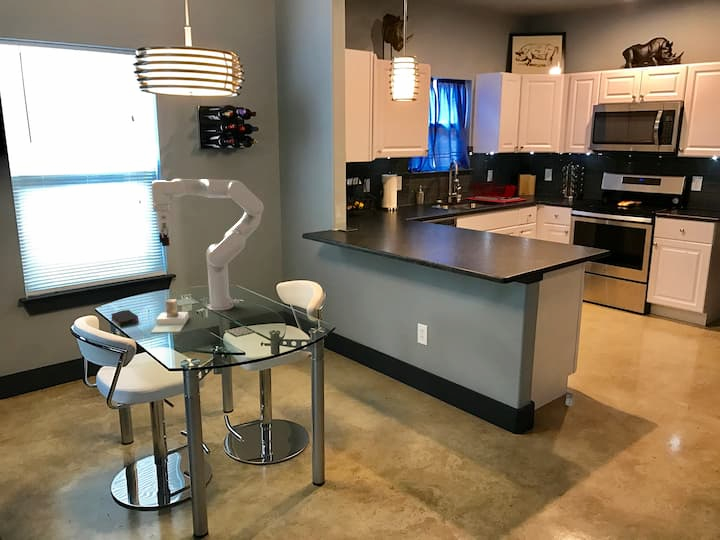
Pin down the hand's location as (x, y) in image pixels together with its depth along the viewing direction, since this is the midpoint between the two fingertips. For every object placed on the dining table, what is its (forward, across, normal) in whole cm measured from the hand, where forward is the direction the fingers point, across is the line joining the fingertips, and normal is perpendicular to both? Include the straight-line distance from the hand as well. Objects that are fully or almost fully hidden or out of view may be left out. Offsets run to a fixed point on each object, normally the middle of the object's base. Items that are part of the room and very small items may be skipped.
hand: (164, 244), depth 268 cm
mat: (+33, -27, +4) cm, 43 cm away
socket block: (+33, -18, +1) cm, 38 cm away
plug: (+33, -18, +1) cm, 37 cm away
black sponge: (+34, -7, +20) cm, 40 cm away
